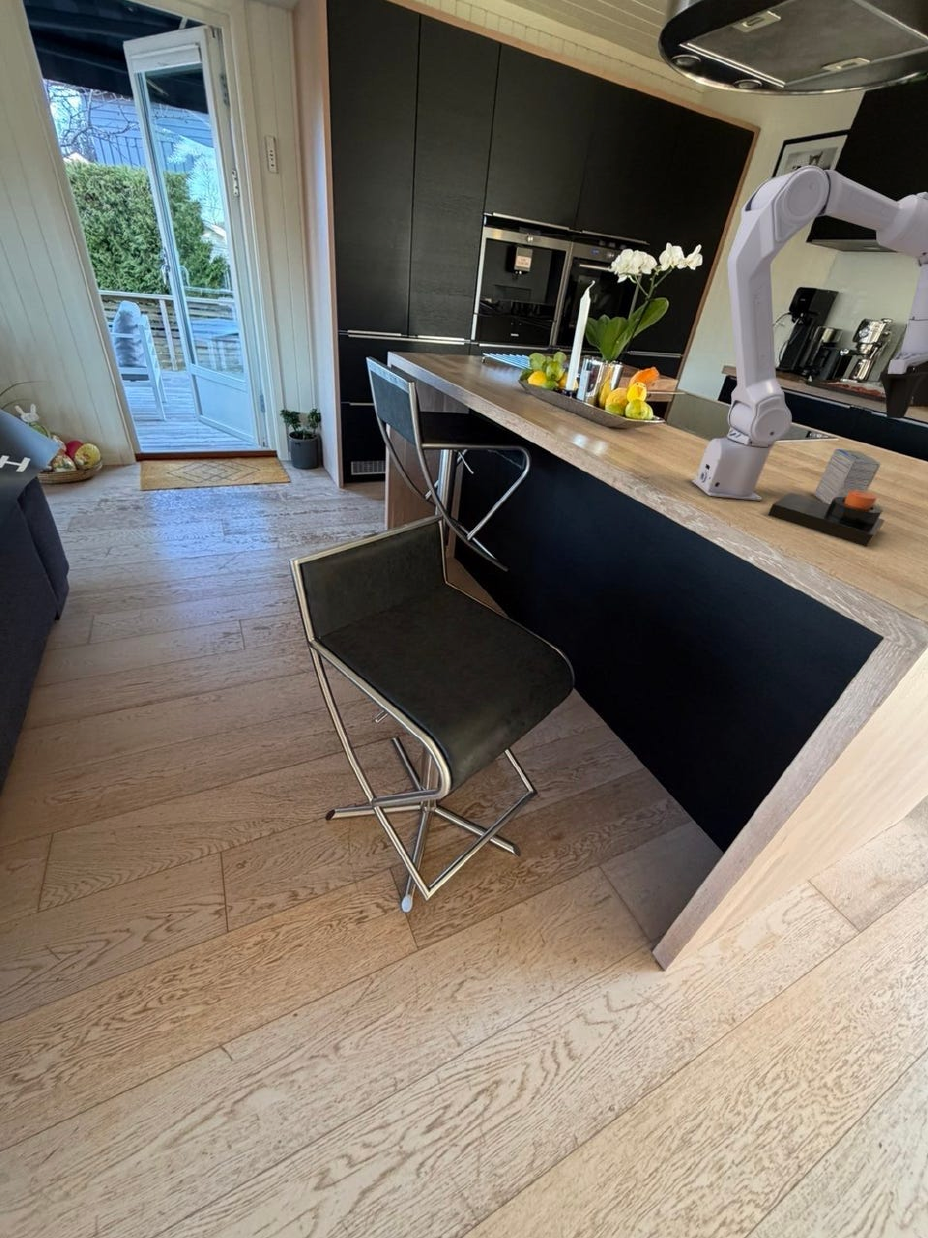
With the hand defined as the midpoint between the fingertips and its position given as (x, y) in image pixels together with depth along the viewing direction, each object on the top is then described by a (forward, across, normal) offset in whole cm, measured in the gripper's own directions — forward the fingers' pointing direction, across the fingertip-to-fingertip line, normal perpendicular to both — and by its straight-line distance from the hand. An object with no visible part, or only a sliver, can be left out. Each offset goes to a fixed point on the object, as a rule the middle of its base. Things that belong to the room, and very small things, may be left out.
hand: (908, 411), depth 85 cm
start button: (+9, -18, -4) cm, 21 cm away
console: (+12, -21, -1) cm, 24 cm away
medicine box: (+14, -8, +4) cm, 17 cm away
